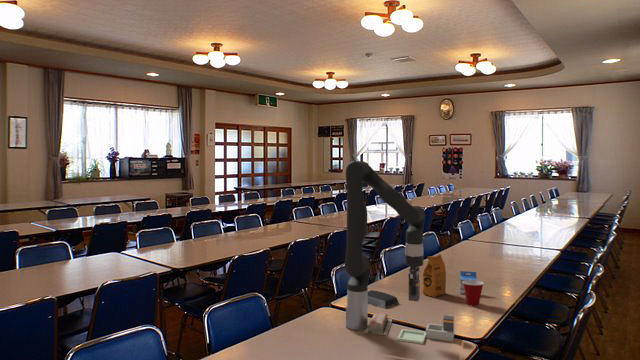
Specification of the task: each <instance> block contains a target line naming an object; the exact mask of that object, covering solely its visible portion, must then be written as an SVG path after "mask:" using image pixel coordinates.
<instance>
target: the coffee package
mask: <svg viewBox="0 0 640 360" xmlns="http://www.w3.org/2000/svg"><path fill="white" fill-rule="evenodd" d="M426 259H427V260H428V261H427V264H426V266H425V268H424V270H423V272H422V290H421V291H422V294H423V295H425V296H427V295H428V297H430V296H431V297H430V298H437V296H439V297H442V296H443V295H445V294H446V291H447V289H446V287H447V284H446V283H447V275H446V274H447V273H446V272H447V271H446V264H445V262H444V259H443V257H442V255H441V253H438V254H437V255H436V256H432V255H431V256H429V255H428V256H427V258H426ZM441 295H442V296H441Z"/></svg>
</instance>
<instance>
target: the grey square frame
mask: <svg viewBox="0 0 640 360" xmlns="http://www.w3.org/2000/svg"><path fill="white" fill-rule="evenodd" d="M443 315H444V314H443ZM425 332H426V337H425V339H432V340H439V341H447V342H453V341H454V339H455V338H454V337H455V316H454V315H444V316H443V320H442V324H438V323H430V322H428V323H427V326H426V328H425Z"/></svg>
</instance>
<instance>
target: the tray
mask: <svg viewBox="0 0 640 360" xmlns="http://www.w3.org/2000/svg"><path fill="white" fill-rule="evenodd" d="M425 339H426V331H422V330H421V331H419V330H414V329H413V330H412V329H406V328H402V329H401V330H400V332H399V334H398V336H397V338H396V341H398V342H399V341H400V342H406V343H413V344H421V345H424V343H425Z"/></svg>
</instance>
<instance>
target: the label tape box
mask: <svg viewBox="0 0 640 360" xmlns="http://www.w3.org/2000/svg"><path fill="white" fill-rule="evenodd" d="M459 272H460V273H459V274H460V275H459V294H460V293H461V294H460V295H465V289H464V285H463V283H462V281H466V280H472V281H478V278H477V272H476V271H464V270H460V271H459Z"/></svg>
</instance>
